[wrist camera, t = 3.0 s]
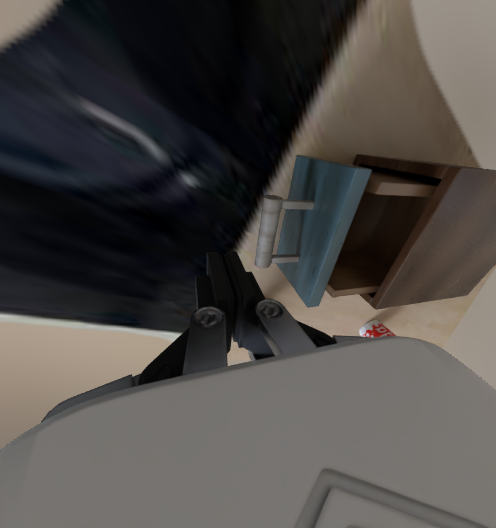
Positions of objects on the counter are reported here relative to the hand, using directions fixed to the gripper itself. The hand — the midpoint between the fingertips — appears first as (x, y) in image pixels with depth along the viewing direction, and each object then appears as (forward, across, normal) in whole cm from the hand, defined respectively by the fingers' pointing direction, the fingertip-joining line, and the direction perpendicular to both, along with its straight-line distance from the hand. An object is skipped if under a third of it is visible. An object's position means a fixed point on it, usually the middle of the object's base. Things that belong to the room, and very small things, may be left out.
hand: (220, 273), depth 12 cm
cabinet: (+10, -22, 0) cm, 24 cm away
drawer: (+9, -12, 0) cm, 15 cm away
